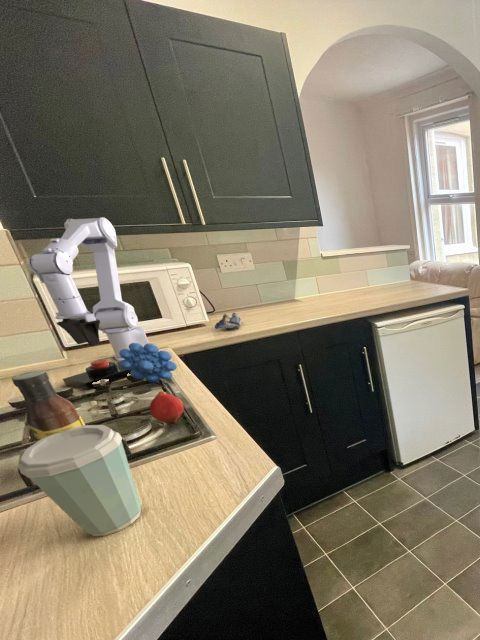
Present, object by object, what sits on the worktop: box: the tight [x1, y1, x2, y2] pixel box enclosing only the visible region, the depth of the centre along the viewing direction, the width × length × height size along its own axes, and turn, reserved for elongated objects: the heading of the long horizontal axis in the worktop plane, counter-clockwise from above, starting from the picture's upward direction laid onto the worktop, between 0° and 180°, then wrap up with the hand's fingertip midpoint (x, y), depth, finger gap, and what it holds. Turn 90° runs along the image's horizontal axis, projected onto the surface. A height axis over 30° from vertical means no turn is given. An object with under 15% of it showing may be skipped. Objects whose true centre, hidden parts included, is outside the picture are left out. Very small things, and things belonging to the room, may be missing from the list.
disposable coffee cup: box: [17, 424, 142, 538], centre depth 62 cm, size 11×11×15 cm
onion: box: [149, 390, 185, 424], centre depth 93 cm, size 6×6×8 cm
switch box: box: [62, 361, 131, 391], centre depth 122 cm, size 14×11×4 cm
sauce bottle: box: [11, 369, 86, 442], centre depth 75 cm, size 7×6×20 cm
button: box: [90, 359, 109, 369], centre depth 121 cm, size 4×4×2 cm
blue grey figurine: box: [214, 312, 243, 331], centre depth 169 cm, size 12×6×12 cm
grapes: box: [119, 343, 178, 384], centre depth 115 cm, size 12×7×12 cm, turn 118°
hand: (88, 343), depth 123 cm, fingers open, 6 cm apart
